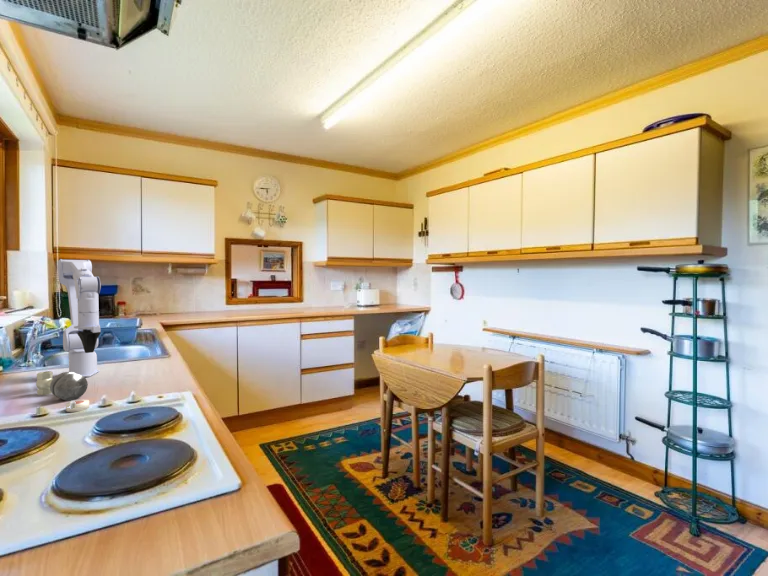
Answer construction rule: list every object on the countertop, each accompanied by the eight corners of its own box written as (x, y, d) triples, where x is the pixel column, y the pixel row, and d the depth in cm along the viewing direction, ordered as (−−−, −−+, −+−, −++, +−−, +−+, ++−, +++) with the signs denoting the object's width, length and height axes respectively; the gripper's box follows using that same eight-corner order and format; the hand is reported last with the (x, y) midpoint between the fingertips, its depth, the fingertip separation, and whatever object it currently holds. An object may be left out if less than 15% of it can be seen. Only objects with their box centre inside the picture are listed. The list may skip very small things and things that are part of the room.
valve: (28, 396, 121) (63, 398, 119) (28, 374, 121) (63, 376, 119) (49, 390, 127) (83, 391, 126) (49, 369, 127) (82, 370, 126)
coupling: (50, 400, 116) (49, 374, 116) (81, 394, 123) (80, 369, 122) (56, 403, 113) (55, 376, 113) (87, 397, 120) (87, 371, 120)
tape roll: (71, 407, 111) (71, 400, 110) (92, 405, 112) (92, 398, 112) (62, 412, 106) (62, 405, 106) (84, 411, 107) (84, 404, 107)
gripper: (66, 312, 137) (67, 351, 137) (81, 314, 128) (82, 356, 128) (91, 310, 142) (92, 349, 142) (107, 312, 134) (108, 353, 134)
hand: (89, 352), depth 136 cm, fingers closed
